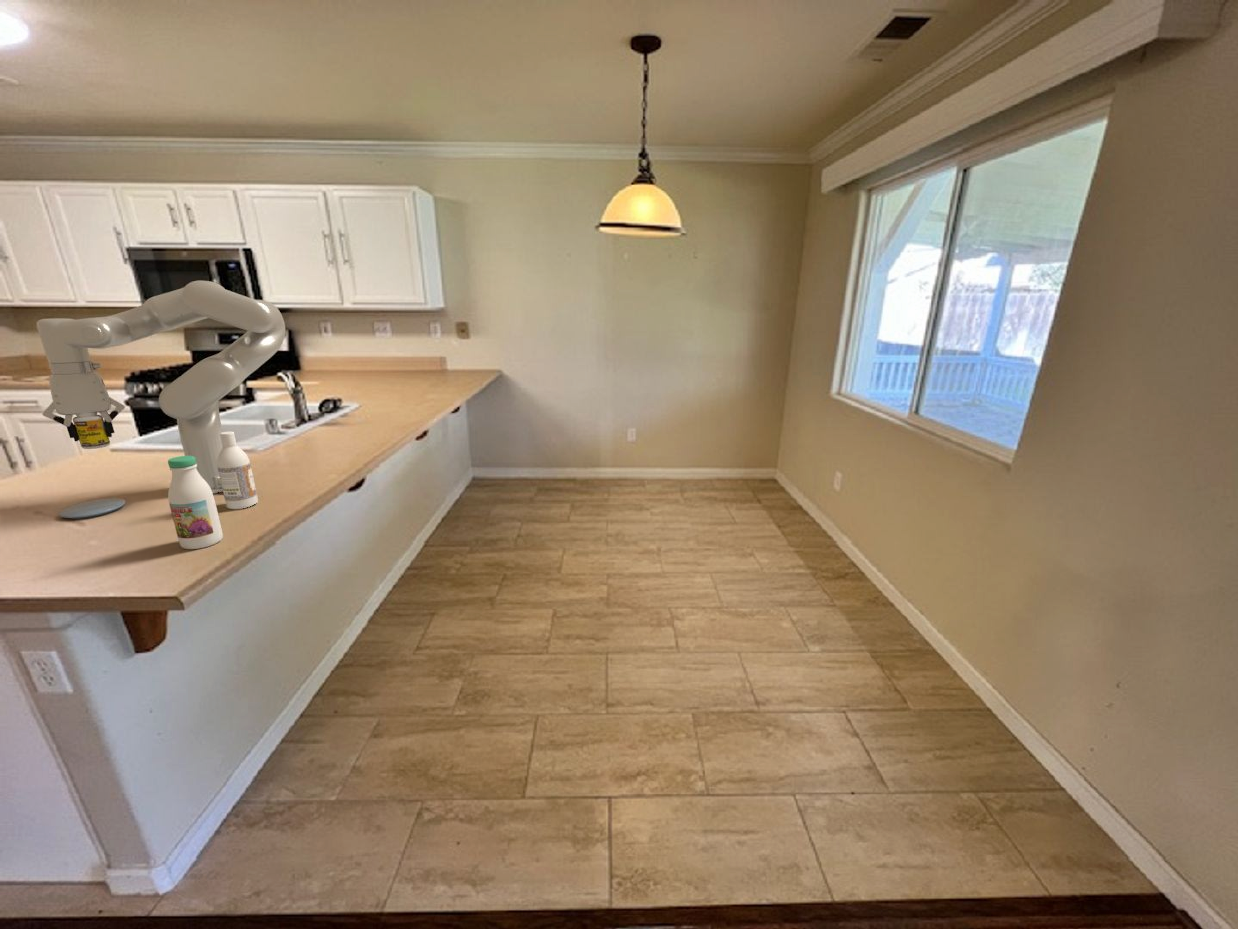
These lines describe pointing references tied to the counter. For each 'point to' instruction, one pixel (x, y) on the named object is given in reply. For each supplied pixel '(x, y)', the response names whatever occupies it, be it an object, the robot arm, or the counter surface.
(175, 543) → the counter surface
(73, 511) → the dish
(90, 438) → the supplement bottle
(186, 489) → the milk bottle
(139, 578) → the counter surface
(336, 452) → the counter surface
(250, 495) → the bath foam
